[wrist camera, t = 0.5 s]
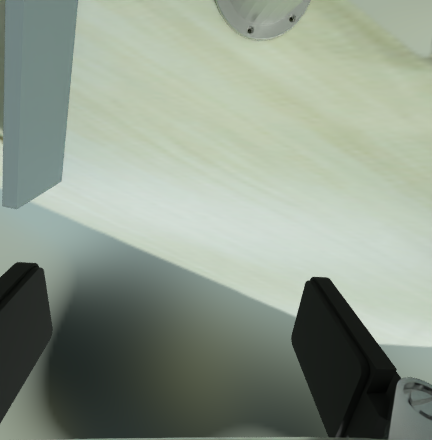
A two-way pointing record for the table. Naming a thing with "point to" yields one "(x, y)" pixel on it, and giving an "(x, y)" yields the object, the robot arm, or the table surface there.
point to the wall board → (35, 95)
